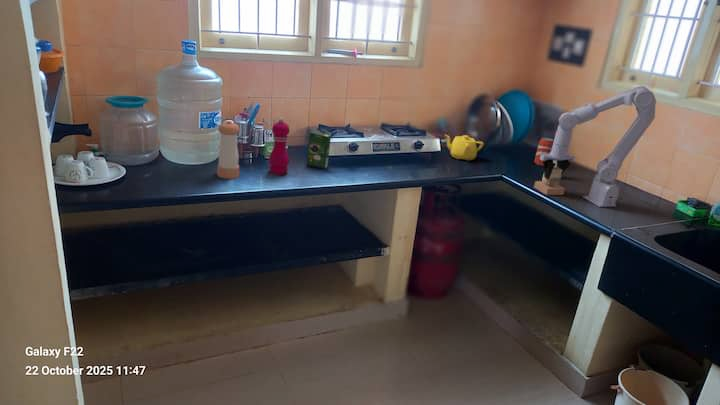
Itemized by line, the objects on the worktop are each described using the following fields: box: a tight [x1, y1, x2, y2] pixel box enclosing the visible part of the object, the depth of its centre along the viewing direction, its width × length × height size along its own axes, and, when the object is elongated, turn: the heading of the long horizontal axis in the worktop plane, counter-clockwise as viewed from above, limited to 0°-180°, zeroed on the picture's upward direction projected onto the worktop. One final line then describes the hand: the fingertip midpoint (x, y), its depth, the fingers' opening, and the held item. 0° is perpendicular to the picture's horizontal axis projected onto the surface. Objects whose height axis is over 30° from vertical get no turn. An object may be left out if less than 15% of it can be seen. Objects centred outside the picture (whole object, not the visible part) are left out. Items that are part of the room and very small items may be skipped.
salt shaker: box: [216, 120, 241, 180], centre depth 175 cm, size 7×7×19 cm
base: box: [533, 180, 566, 196], centre depth 202 cm, size 8×8×2 cm
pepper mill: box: [268, 117, 290, 176], centre depth 184 cm, size 7×7×20 cm
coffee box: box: [306, 130, 332, 170], centre depth 195 cm, size 8×3×13 cm, turn 70°
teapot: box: [444, 134, 485, 162], centre depth 229 cm, size 14×13×10 cm
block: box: [541, 166, 563, 185], centre depth 200 cm, size 4×4×6 cm
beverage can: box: [533, 137, 554, 167], centre depth 233 cm, size 6×6×12 cm
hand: (552, 178), depth 200 cm, fingers closed on block, 4 cm apart
